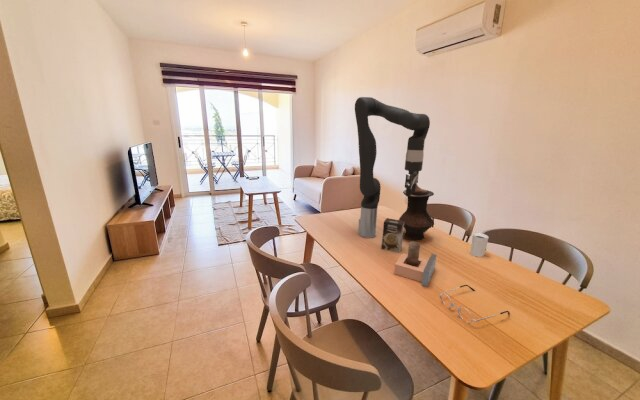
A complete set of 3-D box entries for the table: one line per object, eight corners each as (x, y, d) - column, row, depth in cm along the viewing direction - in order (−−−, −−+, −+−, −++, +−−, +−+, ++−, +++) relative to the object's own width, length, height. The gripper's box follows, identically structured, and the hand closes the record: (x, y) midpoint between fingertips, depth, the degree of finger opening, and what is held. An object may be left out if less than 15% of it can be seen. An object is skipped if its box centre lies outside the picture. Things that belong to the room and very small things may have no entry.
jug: (437, 244, 140) (445, 190, 132) (402, 243, 141) (408, 189, 132) (423, 229, 161) (429, 181, 152) (393, 229, 161) (397, 181, 153)
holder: (393, 273, 110) (394, 264, 109) (401, 262, 119) (402, 253, 118) (422, 282, 104) (423, 272, 103) (428, 269, 113) (429, 260, 112)
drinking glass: (487, 258, 126) (491, 239, 123) (472, 256, 127) (475, 237, 125) (481, 251, 132) (485, 233, 130) (467, 250, 134) (470, 232, 131)
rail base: (373, 273, 113) (374, 256, 110) (385, 257, 126) (386, 242, 123) (432, 291, 100) (434, 273, 98) (439, 272, 113) (441, 256, 111)
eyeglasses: (434, 300, 96) (436, 288, 95) (471, 289, 102) (474, 278, 101) (472, 331, 82) (475, 317, 80) (513, 316, 88) (516, 304, 87)
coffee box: (380, 251, 132) (383, 221, 128) (384, 246, 138) (386, 217, 133) (399, 255, 128) (402, 224, 124) (401, 250, 134) (404, 220, 129)
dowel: (405, 270, 111) (407, 244, 107) (407, 265, 114) (410, 240, 111) (415, 273, 108) (418, 247, 105) (418, 268, 112) (421, 243, 108)
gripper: (409, 157, 126) (406, 190, 131) (401, 160, 115) (398, 196, 119) (426, 159, 122) (422, 192, 127) (419, 162, 111) (414, 199, 115)
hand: (410, 194), depth 123 cm, fingers open, 8 cm apart
